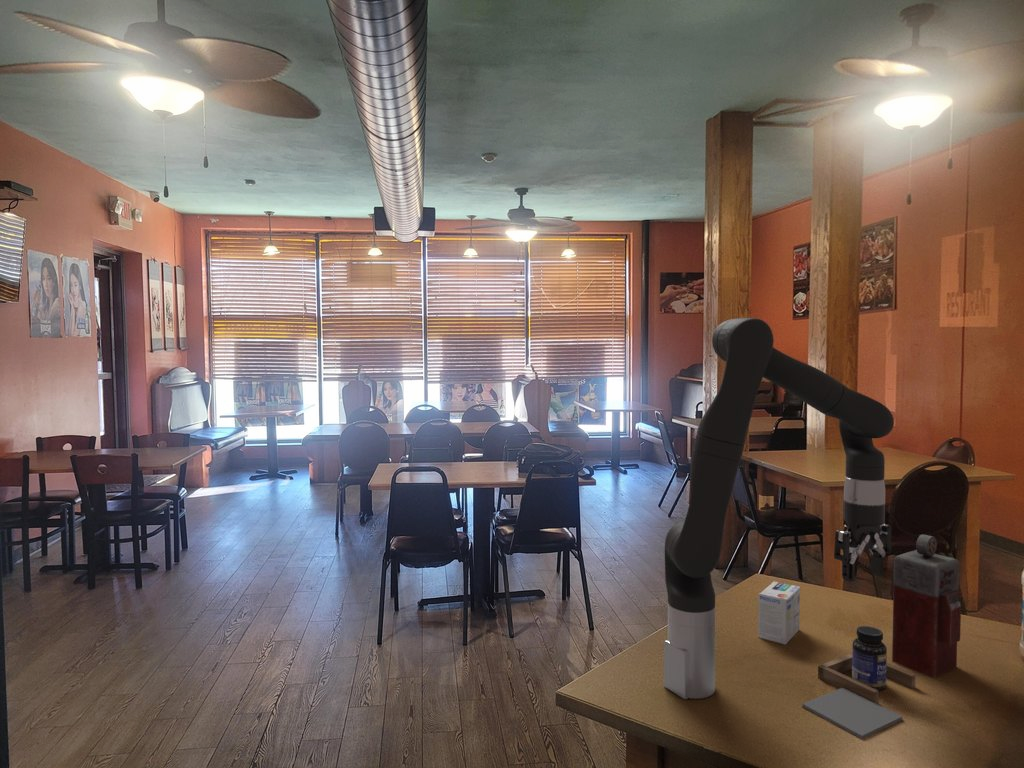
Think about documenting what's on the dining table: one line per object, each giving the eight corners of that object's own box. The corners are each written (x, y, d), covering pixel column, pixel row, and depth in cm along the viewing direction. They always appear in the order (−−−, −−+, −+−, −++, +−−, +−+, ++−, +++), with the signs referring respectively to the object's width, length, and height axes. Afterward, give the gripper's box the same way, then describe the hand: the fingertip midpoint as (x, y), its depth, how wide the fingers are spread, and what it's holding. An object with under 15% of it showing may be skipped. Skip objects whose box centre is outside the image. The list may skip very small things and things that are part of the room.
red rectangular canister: (946, 682, 135) (950, 547, 133) (891, 660, 144) (893, 533, 143) (969, 671, 139) (972, 539, 138) (913, 650, 149) (916, 527, 147)
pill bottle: (883, 694, 130) (884, 639, 130) (849, 685, 134) (849, 632, 134) (888, 681, 135) (889, 629, 135) (855, 673, 139) (855, 621, 138)
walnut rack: (874, 705, 127) (874, 692, 127) (817, 677, 137) (818, 665, 137) (915, 686, 133) (915, 674, 133) (858, 662, 144) (858, 650, 144)
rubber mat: (861, 739, 116) (861, 735, 116) (802, 706, 126) (802, 703, 126) (902, 719, 122) (902, 716, 122) (842, 690, 132) (842, 687, 132)
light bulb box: (772, 622, 165) (772, 580, 164) (800, 629, 161) (801, 586, 160) (757, 637, 157) (757, 592, 156) (786, 645, 152) (787, 599, 152)
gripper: (857, 507, 129) (855, 589, 130) (904, 499, 136) (902, 577, 136) (824, 499, 136) (822, 577, 137) (870, 492, 142) (869, 566, 143)
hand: (862, 577), depth 137 cm, fingers open, 8 cm apart
